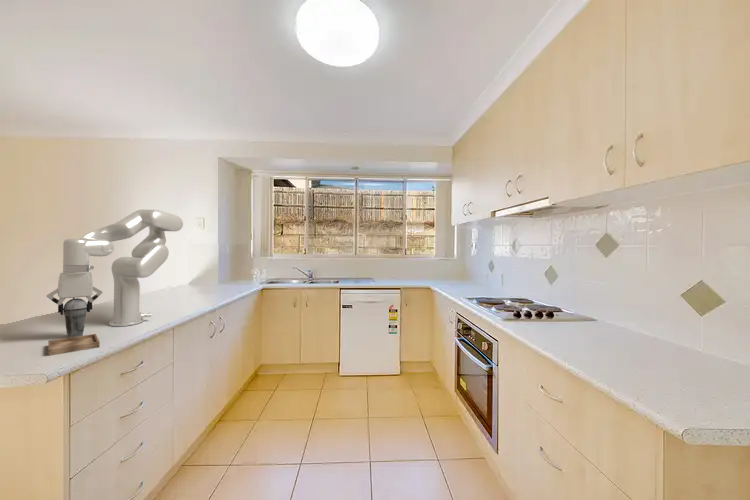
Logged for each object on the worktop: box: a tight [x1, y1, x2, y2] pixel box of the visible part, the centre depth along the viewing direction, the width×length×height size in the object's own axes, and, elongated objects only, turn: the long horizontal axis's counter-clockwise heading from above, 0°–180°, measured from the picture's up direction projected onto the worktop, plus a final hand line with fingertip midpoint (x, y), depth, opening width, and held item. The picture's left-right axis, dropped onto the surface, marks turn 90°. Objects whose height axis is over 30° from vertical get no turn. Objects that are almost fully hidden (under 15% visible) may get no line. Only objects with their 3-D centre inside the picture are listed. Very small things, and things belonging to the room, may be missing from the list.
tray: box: [47, 333, 100, 356], centre depth 114 cm, size 13×13×2 cm
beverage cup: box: [63, 297, 88, 338], centre depth 124 cm, size 7×7×20 cm
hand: (75, 312), depth 124 cm, fingers closed on beverage cup, 7 cm apart
